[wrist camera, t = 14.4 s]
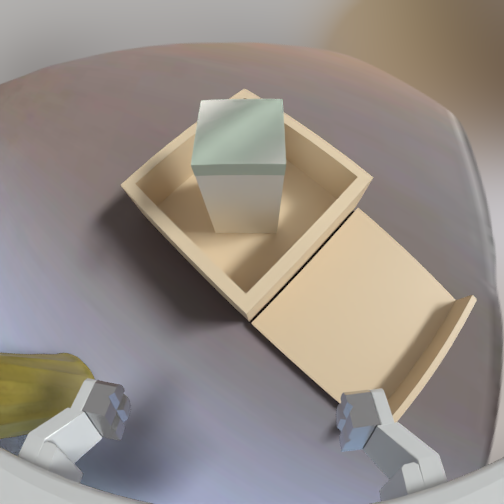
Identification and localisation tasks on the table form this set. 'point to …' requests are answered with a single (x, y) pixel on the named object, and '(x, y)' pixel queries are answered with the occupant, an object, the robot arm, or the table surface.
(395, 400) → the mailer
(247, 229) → the carton
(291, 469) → the table surface
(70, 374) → the vase
